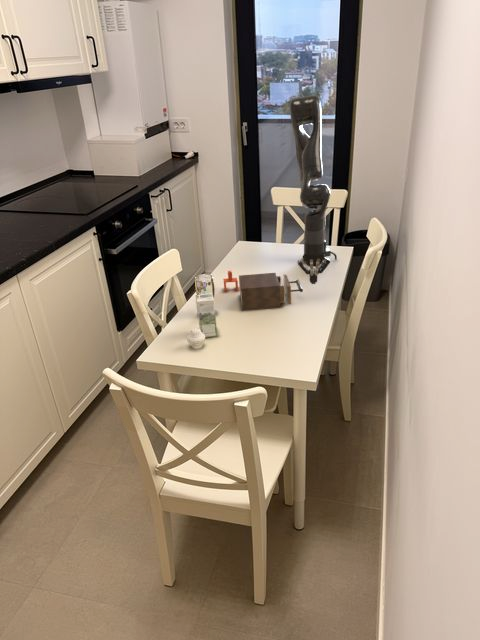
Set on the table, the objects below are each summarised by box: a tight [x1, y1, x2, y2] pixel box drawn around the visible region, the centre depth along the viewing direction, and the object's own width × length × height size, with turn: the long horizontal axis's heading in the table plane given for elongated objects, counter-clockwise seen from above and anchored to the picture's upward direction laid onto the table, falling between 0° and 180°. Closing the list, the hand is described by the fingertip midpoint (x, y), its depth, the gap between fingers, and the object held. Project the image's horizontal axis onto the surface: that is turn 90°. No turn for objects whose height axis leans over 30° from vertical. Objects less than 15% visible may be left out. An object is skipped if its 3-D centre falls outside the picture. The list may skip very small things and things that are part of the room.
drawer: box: [276, 274, 304, 305], centre depth 194 cm, size 18×11×7 cm, turn 96°
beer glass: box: [194, 273, 217, 315], centre depth 184 cm, size 7×7×15 cm
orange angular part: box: [223, 270, 239, 293], centre depth 204 cm, size 6×3×8 cm, turn 96°
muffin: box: [186, 327, 206, 350], centre depth 166 cm, size 6×6×7 cm
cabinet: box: [238, 272, 281, 311], centre depth 193 cm, size 15×13×9 cm
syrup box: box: [195, 293, 218, 339], centre depth 172 cm, size 6×6×14 cm
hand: (313, 283), depth 194 cm, fingers closed
